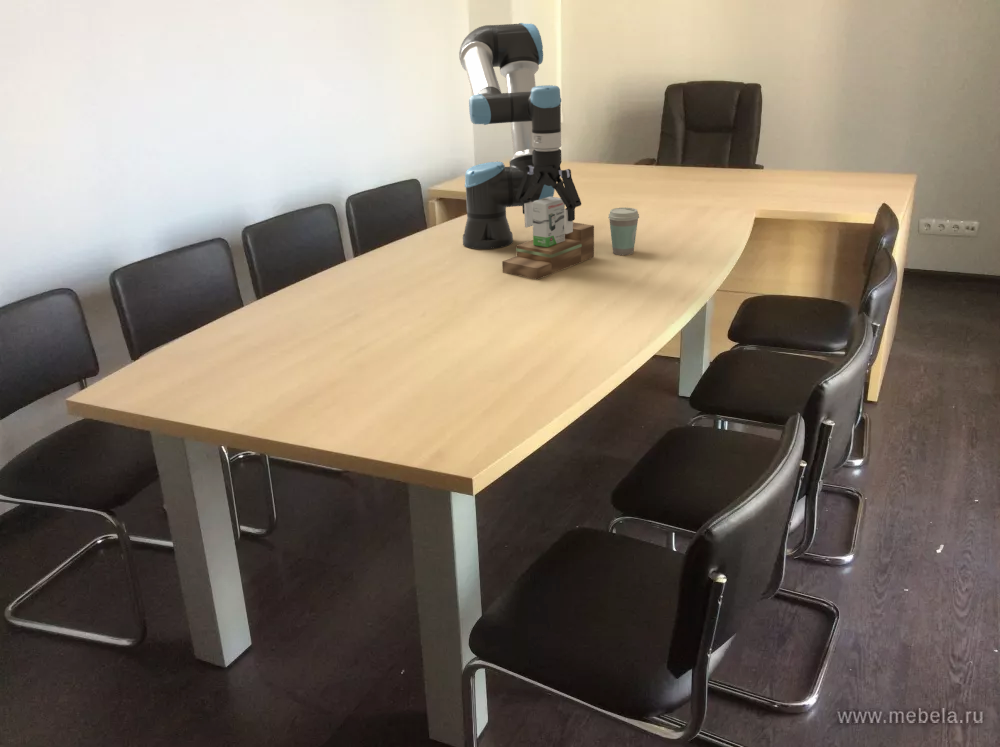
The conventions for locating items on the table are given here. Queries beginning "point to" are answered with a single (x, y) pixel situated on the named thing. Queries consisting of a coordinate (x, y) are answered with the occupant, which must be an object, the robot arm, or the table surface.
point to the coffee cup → (623, 230)
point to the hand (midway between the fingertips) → (548, 229)
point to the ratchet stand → (552, 254)
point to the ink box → (548, 221)
